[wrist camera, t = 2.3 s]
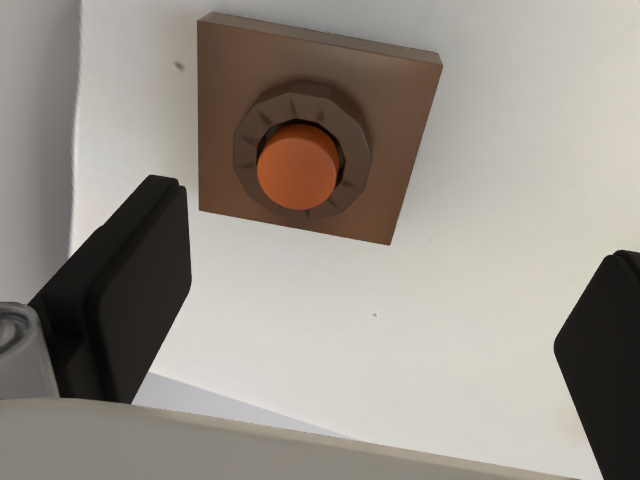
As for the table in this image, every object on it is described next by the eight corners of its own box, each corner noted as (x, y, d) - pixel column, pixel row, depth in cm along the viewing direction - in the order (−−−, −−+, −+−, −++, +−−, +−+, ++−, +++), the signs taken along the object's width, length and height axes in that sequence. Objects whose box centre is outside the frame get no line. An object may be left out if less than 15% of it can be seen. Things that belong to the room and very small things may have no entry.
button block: (210, 191, 28) (187, 228, 25) (211, 11, 22) (182, 28, 19) (389, 224, 28) (390, 265, 25) (438, 52, 22) (448, 76, 19)
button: (261, 184, 23) (253, 202, 22) (267, 116, 21) (259, 130, 19) (332, 198, 23) (329, 216, 22) (345, 130, 21) (342, 146, 19)
